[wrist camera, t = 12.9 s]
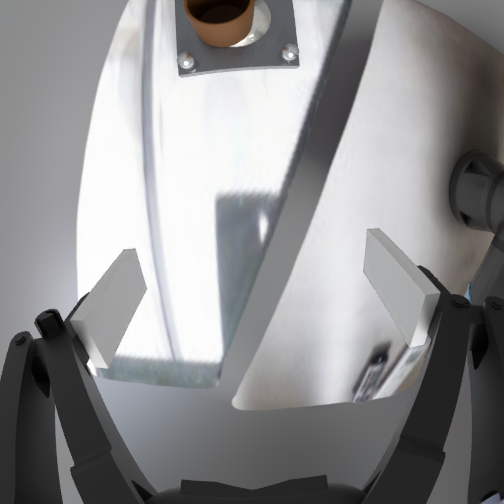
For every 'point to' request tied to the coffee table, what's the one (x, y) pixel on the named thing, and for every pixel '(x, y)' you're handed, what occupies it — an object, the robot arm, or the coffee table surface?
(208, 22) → the mug
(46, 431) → the robot arm
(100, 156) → the coffee table surface
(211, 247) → the coffee table surface
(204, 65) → the chassis
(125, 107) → the coffee table surface
